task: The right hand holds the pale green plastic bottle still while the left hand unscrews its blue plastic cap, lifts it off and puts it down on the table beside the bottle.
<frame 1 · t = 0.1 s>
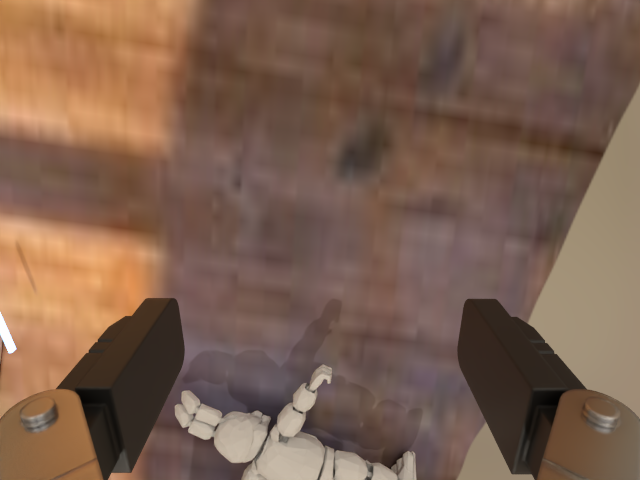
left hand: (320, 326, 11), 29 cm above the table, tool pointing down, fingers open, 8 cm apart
toy: (295, 430, 51), on the table
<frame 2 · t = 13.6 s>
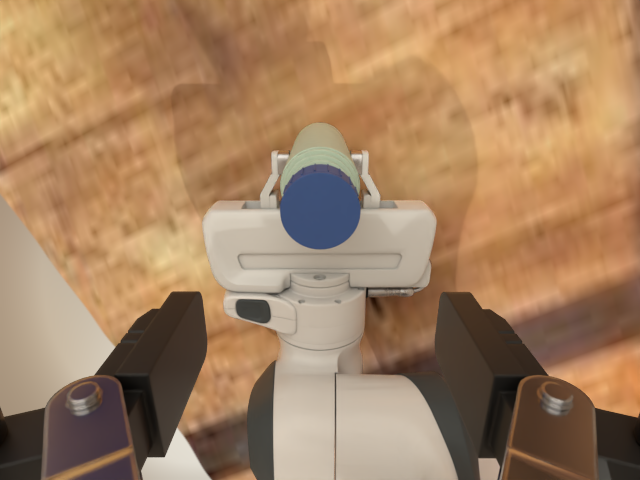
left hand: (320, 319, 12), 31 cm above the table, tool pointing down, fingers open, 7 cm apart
right hand: (319, 151, 34), fingers closed on bottle, 5 cm apart
bottle: (319, 149, 40), on the table, touching right hand
cap: (320, 210, 21), point 20 cm above the table, screwed on, not yet turned
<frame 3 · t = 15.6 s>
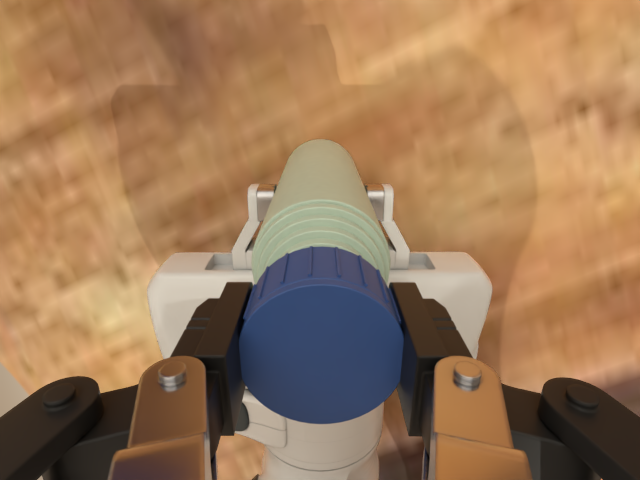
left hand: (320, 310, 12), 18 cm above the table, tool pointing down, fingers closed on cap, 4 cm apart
bottle: (320, 175, 29), on the table, touching right hand
cap: (321, 352, 10), point 20 cm above the table, screwed on, not yet turned, touching left hand
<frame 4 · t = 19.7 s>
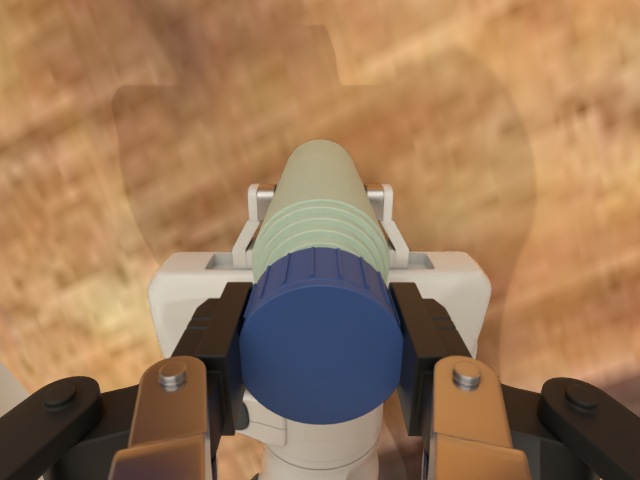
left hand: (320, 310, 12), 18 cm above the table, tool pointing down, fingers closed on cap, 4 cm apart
bottle: (320, 175, 29), on the table, touching right hand
cap: (321, 353, 10), point 20 cm above the table, turned 93° so far, risen 0.1 cm, still on its thread, touching left hand
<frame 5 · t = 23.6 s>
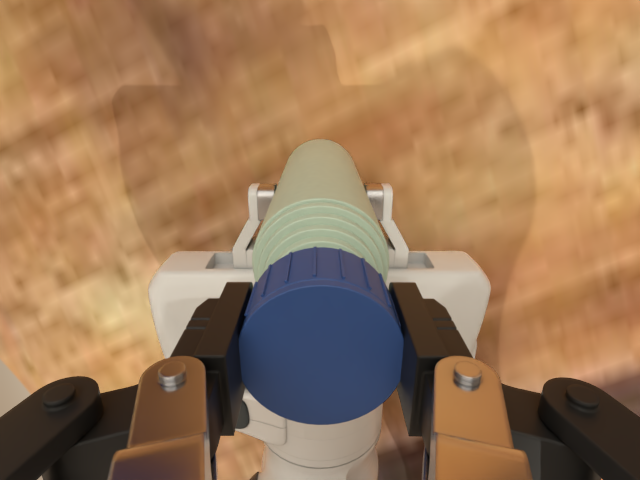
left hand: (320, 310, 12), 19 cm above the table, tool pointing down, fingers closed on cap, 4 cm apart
bottle: (320, 175, 29), on the table, touching right hand
cap: (321, 353, 10), point 21 cm above the table, turned 186° so far, risen 0.2 cm, still on its thread, touching left hand
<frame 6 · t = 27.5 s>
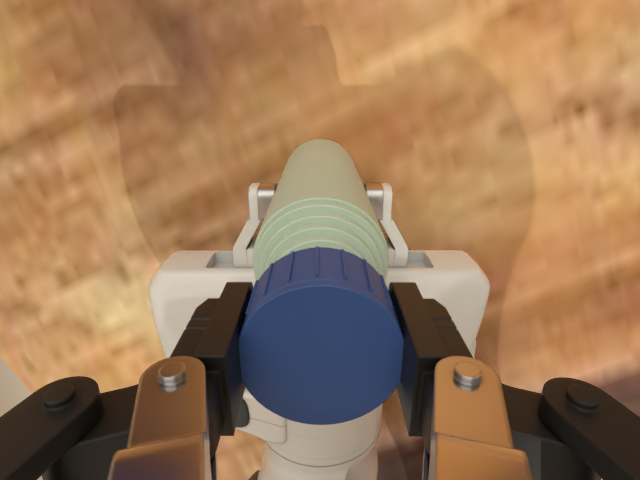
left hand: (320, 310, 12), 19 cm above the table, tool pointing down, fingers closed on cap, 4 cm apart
bottle: (320, 174, 30), on the table, touching right hand
cap: (321, 353, 10), point 21 cm above the table, turned 279° so far, risen 0.3 cm, still on its thread, touching left hand
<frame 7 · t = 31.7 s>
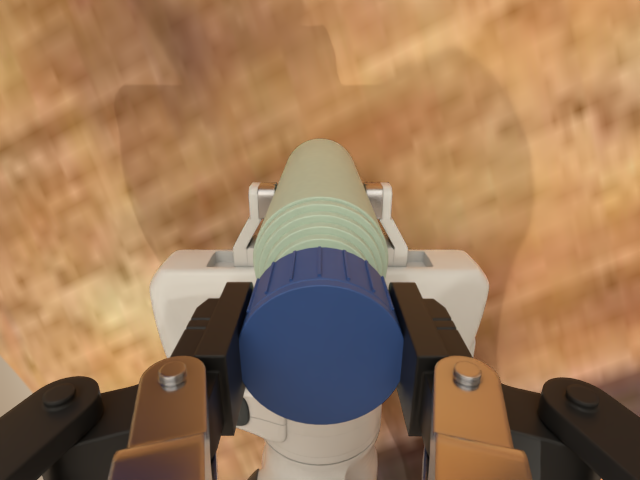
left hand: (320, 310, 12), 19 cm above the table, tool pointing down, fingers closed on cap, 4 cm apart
bottle: (320, 174, 30), on the table, touching right hand
cap: (321, 353, 10), point 21 cm above the table, turned 372° so far, risen 0.4 cm, still on its thread, touching left hand
when the left hand's fingers open (1 cm above the table, at t = 39.4 s): cap drops 1 cm, point 2 cm above the table.
when the right hand's fingers open (7 cm above the table, at t = 40.5 s): bottle stays where it is, on the table.
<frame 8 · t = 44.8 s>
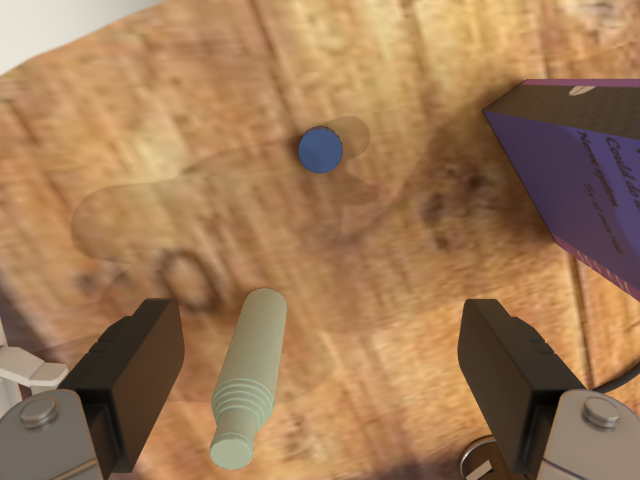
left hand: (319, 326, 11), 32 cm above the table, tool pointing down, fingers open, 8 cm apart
cereal box: (541, 167, 42), on the table
bottle: (265, 307, 48), on the table
cap: (320, 151, 39), point 2 cm above the table, off its thread
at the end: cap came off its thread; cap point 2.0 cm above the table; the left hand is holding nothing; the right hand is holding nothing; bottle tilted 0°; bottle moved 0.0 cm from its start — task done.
